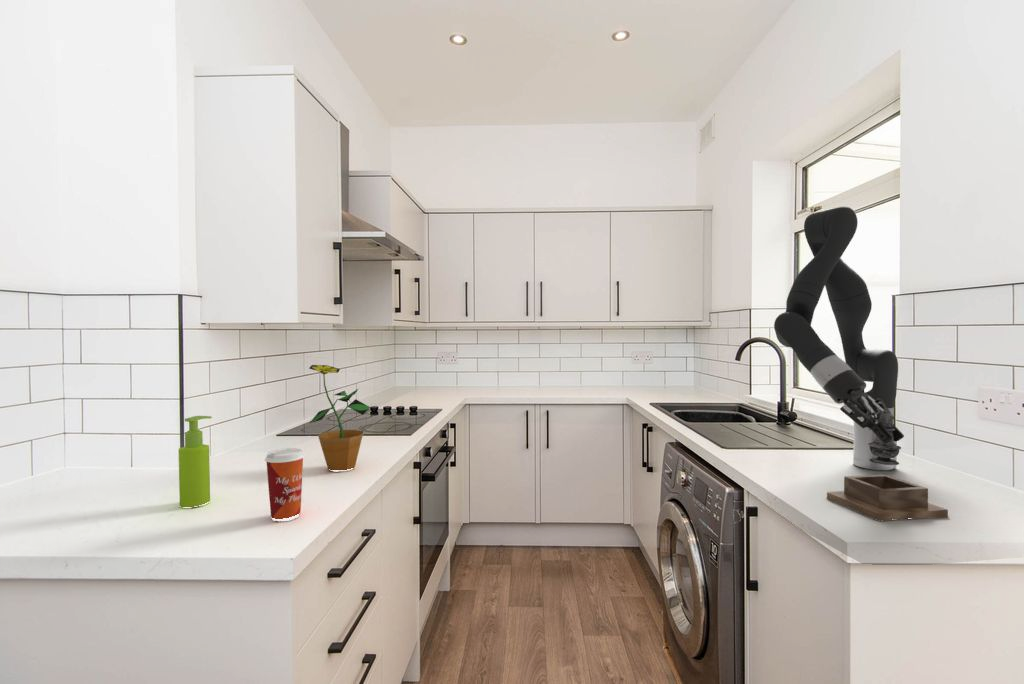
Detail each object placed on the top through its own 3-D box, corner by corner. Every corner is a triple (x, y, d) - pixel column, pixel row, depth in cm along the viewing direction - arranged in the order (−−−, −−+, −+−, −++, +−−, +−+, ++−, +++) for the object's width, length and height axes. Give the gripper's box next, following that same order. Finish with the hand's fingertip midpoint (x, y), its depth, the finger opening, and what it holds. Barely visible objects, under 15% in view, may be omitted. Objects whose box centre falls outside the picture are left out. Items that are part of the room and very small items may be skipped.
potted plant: (314, 482, 130) (312, 367, 129) (304, 465, 146) (302, 363, 145) (382, 472, 139) (381, 364, 138) (365, 457, 155) (364, 361, 154)
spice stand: (888, 494, 117) (888, 471, 117) (947, 516, 104) (948, 490, 103) (826, 498, 115) (827, 474, 115) (879, 521, 101) (879, 494, 101)
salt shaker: (906, 466, 106) (908, 409, 105) (875, 464, 107) (876, 409, 107) (891, 459, 111) (892, 405, 111) (862, 457, 113) (863, 404, 112)
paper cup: (280, 527, 100) (278, 458, 100) (258, 519, 104) (256, 453, 104) (313, 514, 107) (312, 449, 107) (291, 508, 111) (290, 445, 111)
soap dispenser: (220, 499, 117) (218, 414, 116) (192, 510, 110) (190, 420, 110) (201, 497, 119) (199, 413, 118) (173, 507, 112) (171, 418, 112)
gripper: (831, 369, 112) (892, 433, 102) (866, 367, 119) (926, 427, 108) (807, 390, 117) (863, 453, 106) (842, 387, 123) (897, 446, 113)
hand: (894, 439), depth 107 cm, fingers closed on salt shaker, 3 cm apart
